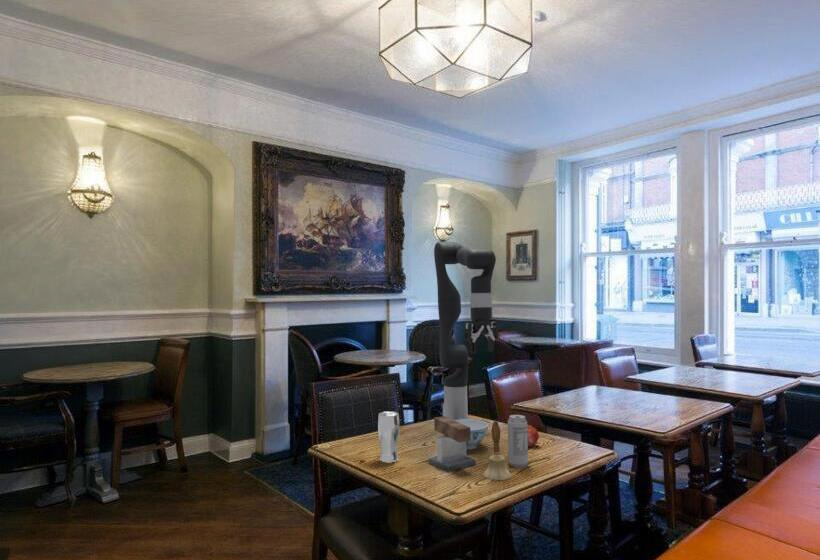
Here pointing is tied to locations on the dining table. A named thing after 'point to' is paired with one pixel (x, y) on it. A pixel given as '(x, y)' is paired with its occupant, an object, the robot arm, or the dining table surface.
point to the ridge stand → (451, 455)
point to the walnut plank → (452, 429)
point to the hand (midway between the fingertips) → (481, 352)
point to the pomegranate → (532, 435)
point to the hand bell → (496, 459)
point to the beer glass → (388, 435)
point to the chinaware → (474, 431)
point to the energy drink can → (517, 441)
